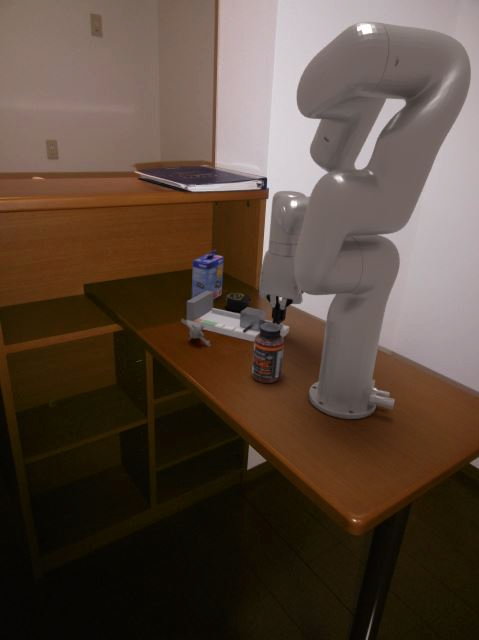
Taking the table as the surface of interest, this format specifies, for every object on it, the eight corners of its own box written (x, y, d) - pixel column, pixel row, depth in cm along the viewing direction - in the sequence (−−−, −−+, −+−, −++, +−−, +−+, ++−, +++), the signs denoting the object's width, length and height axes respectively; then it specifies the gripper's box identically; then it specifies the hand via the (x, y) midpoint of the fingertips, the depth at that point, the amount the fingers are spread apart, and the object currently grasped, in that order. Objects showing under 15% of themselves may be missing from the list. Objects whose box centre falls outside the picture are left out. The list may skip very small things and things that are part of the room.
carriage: (264, 325, 114) (265, 310, 113) (253, 335, 109) (254, 319, 107) (246, 321, 116) (247, 307, 115) (234, 330, 110) (235, 315, 109)
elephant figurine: (217, 335, 112) (218, 338, 103) (202, 351, 112) (202, 355, 103) (190, 310, 111) (189, 310, 103) (174, 326, 111) (172, 328, 103)
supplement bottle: (247, 380, 92) (250, 329, 88) (257, 367, 97) (260, 318, 93) (275, 387, 90) (280, 335, 86) (284, 373, 95) (289, 324, 91)
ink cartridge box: (207, 304, 131) (208, 255, 125) (190, 300, 133) (191, 252, 127) (223, 294, 139) (224, 248, 134) (207, 291, 141) (208, 245, 136)
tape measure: (247, 314, 126) (248, 301, 124) (222, 311, 126) (223, 299, 125) (250, 305, 132) (251, 293, 130) (226, 303, 133) (227, 291, 131)
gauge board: (288, 331, 115) (291, 308, 113) (273, 346, 107) (276, 321, 104) (206, 313, 125) (206, 290, 122) (186, 325, 116) (186, 301, 114)
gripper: (321, 250, 103) (312, 323, 111) (261, 239, 109) (256, 310, 116) (311, 257, 97) (302, 335, 104) (248, 246, 103) (243, 320, 110)
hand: (278, 321), depth 110 cm, fingers closed
